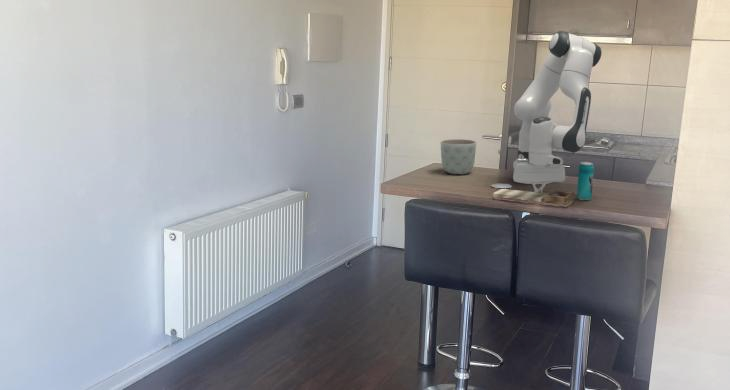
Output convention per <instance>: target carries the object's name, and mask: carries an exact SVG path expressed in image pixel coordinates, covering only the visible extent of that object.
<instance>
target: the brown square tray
mask: <svg viewBox="0 0 730 390" xmlns="http://www.w3.org/2000/svg"><path fill="white" fill-rule="evenodd" d="M549 192H550V193H547V194H548V195H544V197H543V198H542V199H541V202H545V203H553V204H562V205H567V204H569V203H570V202H572V201H573V202H574V192H571V191H561V190H560V191H559V190H552V189H551V190H550V191H549ZM554 193H556V194H558V195H559V196H551V195H552V194H554Z"/></svg>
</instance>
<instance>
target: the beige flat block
mask: <svg viewBox="0 0 730 390" xmlns="http://www.w3.org/2000/svg"><path fill="white" fill-rule="evenodd" d="M548 194H549V193H546V192H542V193H535V192H534V191H527V190H517V189H511V188H510V189H497V190H496V191H495V192H493V193H492V197H493V196H494V197H503V198H512V199H521V200H528V201H537V202H541V199H542V198H543V197H544V195H548Z"/></svg>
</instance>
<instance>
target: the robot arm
mask: <svg viewBox="0 0 730 390" xmlns="http://www.w3.org/2000/svg"><path fill="white" fill-rule="evenodd" d="M548 50H549V54H548V55H547V57H546V58H545V60H544V62H543V64H541V67H540V69H539V70H538V73H537V74H536V76H535V78H534V79H533V81H532V82H531V83H530V85H529V86H528V87H527V88H526V90H525V91H524V92H523V94H522V95H521V97H520V98H519V99H518V100H516V102H515V104H514V107H513V112H514V116H515V117H516V118H517V119H518V120H520V121H522V124H521V128H520V130H519V132H518V133H519V134H518V150H517V153H516V158H517V159H515V160H514V161H513V163H512V166H513V167H512V168H513V174H512V175H513V176H512V179H513V182H515V183H519V184H527V185H532V187H533V189H534V190H533V192H535V193H543V189H544V188H545V187H546V185H550V184H551V183H563V182H565V181H566V169H565V166H564V165H563V164H564V159H563V158H562V157H561V156H558V155H556V154H552V153H553V151H552V149H555V150H561V151H565V152H568V153H577V152H579V151H580V150H582V149H583V147H585V144H586V141H587V126H588V121H589V114H590V109H591V103H592V93H591V91H590V89H589V81H590V77H591V74H592V70H593V68H594V67H596V65H597V64H598V63H599V61H600V60H601V57H602V47H600V46H599V45H598V44H597V43H595V42H592V41H590V40H589V39H586V38H584V37H583V36H580V35H579V36H578V35H576V34H573V33H569V32H568V31H565V30H559V31H557V32H555V33H554V34H553V35H552V36H551V39H550V40H549V43H548ZM559 89H560V91H561V92H562V93H563V94H564V95H565V96H567V97H568V98H570V99H571V100H572V101H574V103H575V107H574V114H573V119H572V123H571V125H563V124H557V123H556V122H554V121H552V118H551V117H549V113H550V112H551V110H552V102H551V98H552V97H553V96H554V95H555V94H556V93H557V92H558V90H559ZM536 185H540V187H537V186H536Z"/></svg>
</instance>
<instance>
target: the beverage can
mask: <svg viewBox="0 0 730 390" xmlns="http://www.w3.org/2000/svg"><path fill="white" fill-rule="evenodd" d="M594 170H595V166H594V162H589V161H581V162H579V166H578V177H577V194H576V196H577V198H578V200H579V199H582V200H581V201H583V200H588V201H590V200H591V199H592V197H593V185H594V172H595V171H594Z"/></svg>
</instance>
